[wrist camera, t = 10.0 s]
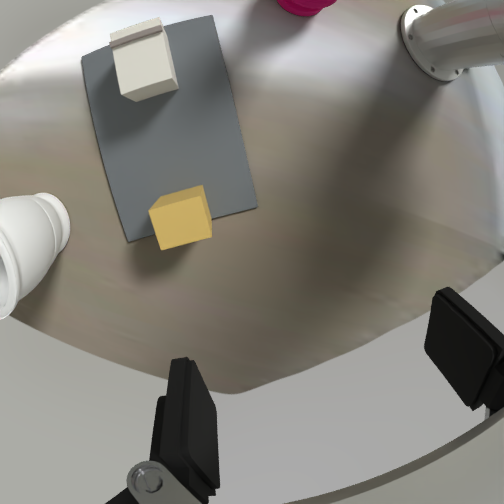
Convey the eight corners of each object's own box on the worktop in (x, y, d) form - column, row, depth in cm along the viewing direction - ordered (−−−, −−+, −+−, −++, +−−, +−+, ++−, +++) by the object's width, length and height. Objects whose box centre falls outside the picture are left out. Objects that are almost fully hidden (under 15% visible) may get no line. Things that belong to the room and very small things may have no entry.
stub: (202, 184, 33) (200, 195, 26) (211, 218, 34) (211, 236, 28) (160, 196, 32) (148, 210, 26) (170, 229, 34) (161, 250, 27)
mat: (212, 16, 26) (212, 14, 25) (257, 206, 35) (257, 206, 35) (82, 57, 25) (81, 56, 25) (129, 240, 34) (128, 241, 34)
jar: (32, 169, 29) (-46, 193, 15) (90, 209, 32) (27, 255, 18) (9, 237, 31) (-56, 283, 17) (62, 275, 34) (8, 340, 21)
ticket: (167, 36, 26) (159, 15, 20) (179, 88, 28) (172, 76, 22) (124, 49, 26) (107, 32, 20) (135, 102, 28) (119, 94, 22)
